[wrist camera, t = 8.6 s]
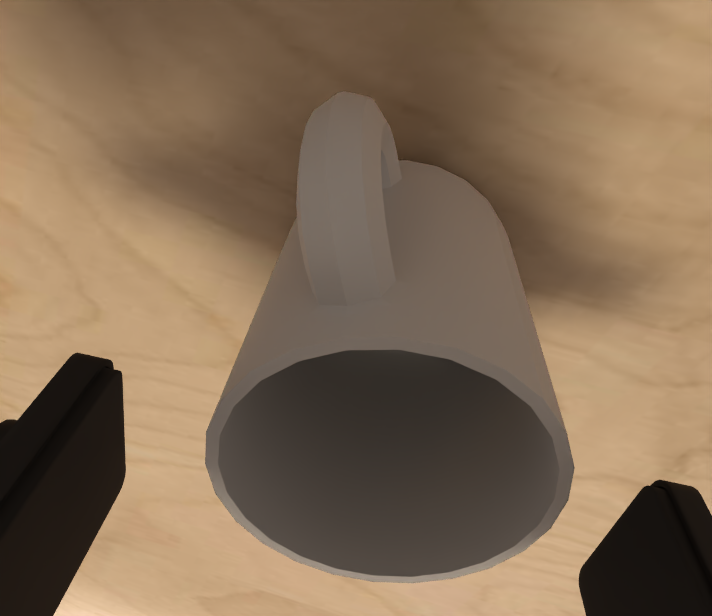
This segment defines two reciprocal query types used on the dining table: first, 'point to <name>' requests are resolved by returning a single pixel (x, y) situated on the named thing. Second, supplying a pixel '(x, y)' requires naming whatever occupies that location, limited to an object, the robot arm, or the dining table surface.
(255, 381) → the cup
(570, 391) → the dining table surface
